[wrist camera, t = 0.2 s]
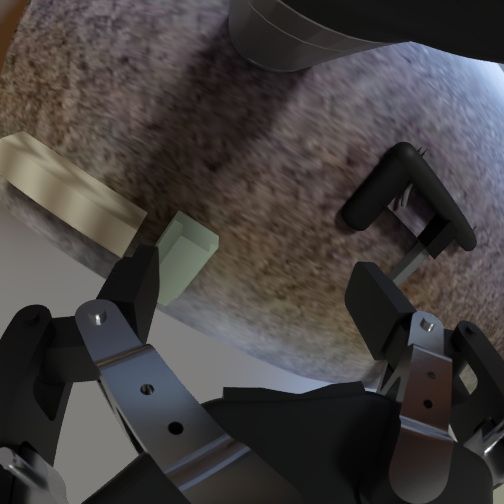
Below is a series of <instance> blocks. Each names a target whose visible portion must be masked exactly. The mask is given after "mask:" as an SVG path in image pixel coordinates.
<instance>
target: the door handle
mask: <svg viewBox="0 0 504 504" xmlns="http://www.w3.org/2000/svg"><path fill="white" fill-rule="evenodd" d="M421 148H422V147H421ZM421 148H420V149H421ZM420 149H419V150H418V151H417V150H416V149H415V148H414V146H412V145H411V144H410V143H407V142H400V143H397V144H396V145H395V146H394V147H393V148H392V151H391V154H390V155H389V156H388V157H387V158H386V160H385V161H384V162H383V163H382V164H381V165H380V167H379V168H378V169H377V170H376V171H375V172H374V174H373V175H372V176H371V177H370V178H369V179H368V181H367V182H366V183H365V184H364V185H363V186H362V187H361V189H360V190H359V191H358V192H357V193H356V194H355V195H354V197H353V198H352V199H351V200H350V201H349V202H348V203H347V204H346V206H345V207H344V208H343V210H342V217H343V219H344V221H345V223H346V224H347V225H348V226H349V227H351V228H352V229H354V230H357V231H363V230H365V229H367V228H368V227H369V226H370V224H371V223H372V222H373V221H374V220H375V219H376V218H377V217H378V216H379V215H380V213H381V212H382V211H383V210H384V209H385V208H387V209H388V210H389V211H390V212H391V213H392V214H393V215H394V216H395V217H396V218H397V219H398V221H399V222H400V223H401V224H402V225H403V226H404V227H405V228H406V229H407V230H408V231H409V232H410V233H411V234H412V235H413V236H414V237H415V238H416V239H417V241H418V243H417V244H416V245H415V246H414V247H413V248H412V249H411V250H410V251H409V252H408V253H407V254H406V256H405V257H404V258H403V259H402V260H401V261H400V262H399V263H398V264H397V266H396V267H395V268H394V269H393V270H392V271H391V272H390V273H389V274H388V275H387V277H388V278H389V279H391V280H392V281H393V282H394V283H395V284H396V286H397V287H398V286H400V285H401V284H402V283H403V282H404V281H405V280H406V279H407V278H408V277H409V276H410V275H411V274H412V273H413V272H414V271H415V270H416V269H417V268H418V267H419V266H420V265H421V264H422V263H423V261H424V260H425V259H426V258H427V257H428V256H429V255H431V256H432V257H433V259H435V258H436V257H437V256H438V255H439V254H440V253H441V252H442V251H443V250H444V249H445V248H446V246H447V245H448V244H449V243H450V242H451V241H452V240H453V239H454V238H455V240H456V241H457V243H458V244H459V246H460V247H462V248H463V249H464V250H465V251H472V250H473V249H474V248H475V247H476V244H477V240H476V237H475V233H474V232H473V230H474V229H475V228H476V226H475V228H474V229H473V230H472V228H471V227H470V225H469V223H468V222H467V220H466V218H465V217H464V215H463V214H462V212H461V210H460V209H459V207H458V206H457V204H456V203H455V201H454V200H453V198H452V197H451V195H450V194H449V192H448V191H447V190H446V188H445V187H444V185H443V184H442V183H441V181H440V180H439V178H438V177H437V176H436V174H435V173H434V172H433V170H432V169H431V168H430V166H429V165H428V164H427V163H426V161H425V160H424V159H423V157H422V156H423V155H424V153H425V152H426V151H425V152H424V153H423V154H422V155H420V154H419V151H420ZM407 183H408V184H407ZM406 184H407V186H406V188H405V190H404V193H403V196H402V201H401V206H402V207H406V204H407V199H408V195H409V192H410V190H411V188H412V186H414V187H415V188H416V189H417V190H418V192H419V193H420V194H421V195H422V196H423V198H424V199H425V200H426V201H427V203H428V204H429V205H430V206H431V208H432V209H433V210H434V211H435V213H436V215H435V216H434V218H433V219H432V220H431V221H430V223H429V224H428V225H427V226H426V228H425V229H424V230H423V231H422V232H421V234H420V235H419V236H418V237H416V236H415V235H414V234H413V233H412V232H411V231H410V230H409V229H408V228H407V226H406V225H405V224H404V223H403V222H402V221H401V220H400V219H399V218H398V217H397V216H396V215H395V214H394V213H393V212H392V211H391V210H390V209H389V208H388V207H387V206H388V205H389V203H390V202H391V201H392V200H393V199H394V198H395V197H396V196H397V194H398V193H399V192H400V191H401V190H402V189H403V187H404V186H405V185H406Z"/></svg>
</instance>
